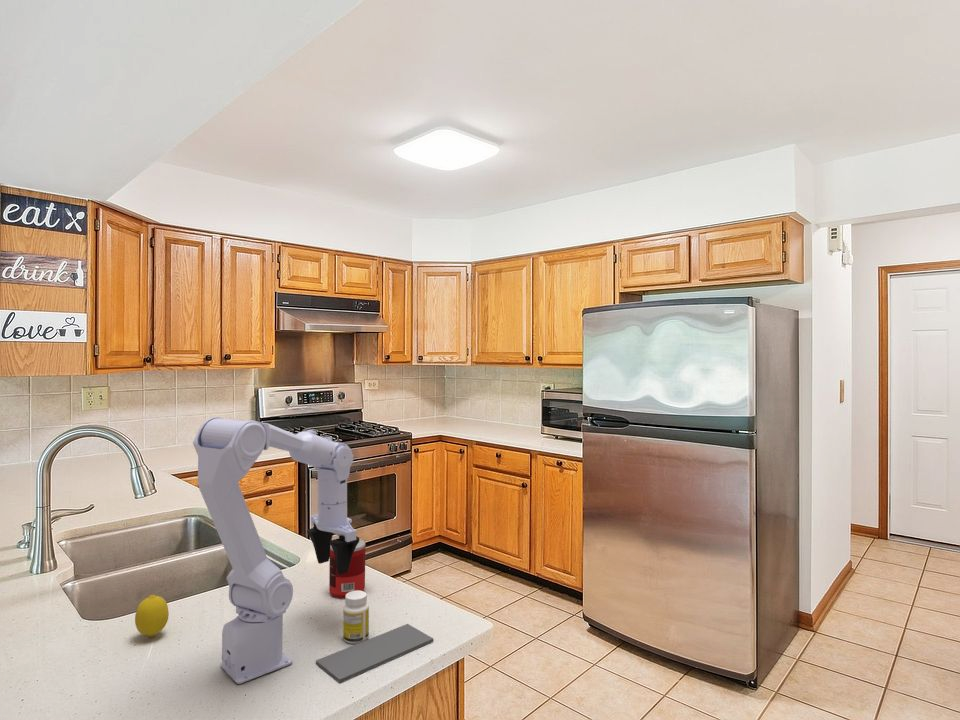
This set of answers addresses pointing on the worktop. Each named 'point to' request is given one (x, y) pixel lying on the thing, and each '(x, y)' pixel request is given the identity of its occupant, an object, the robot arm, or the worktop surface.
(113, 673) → the worktop surface
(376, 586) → the worktop surface
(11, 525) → the worktop surface
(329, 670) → the mat
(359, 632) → the supplement bottle
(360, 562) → the canned food
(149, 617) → the lemon
